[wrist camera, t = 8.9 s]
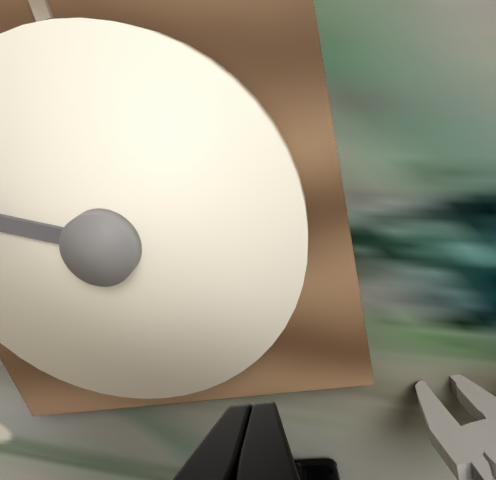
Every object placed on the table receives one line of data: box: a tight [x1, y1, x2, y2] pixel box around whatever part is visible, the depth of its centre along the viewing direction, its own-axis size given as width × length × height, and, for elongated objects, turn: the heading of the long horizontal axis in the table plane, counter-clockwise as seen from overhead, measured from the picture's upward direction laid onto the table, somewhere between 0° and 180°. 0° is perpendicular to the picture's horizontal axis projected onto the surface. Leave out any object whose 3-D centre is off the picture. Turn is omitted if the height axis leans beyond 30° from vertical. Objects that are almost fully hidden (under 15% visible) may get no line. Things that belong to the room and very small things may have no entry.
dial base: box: [0, 0, 374, 416], centre depth 19 cm, size 20×19×2 cm
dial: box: [0, 18, 308, 399], centre depth 15 cm, size 16×16×7 cm
